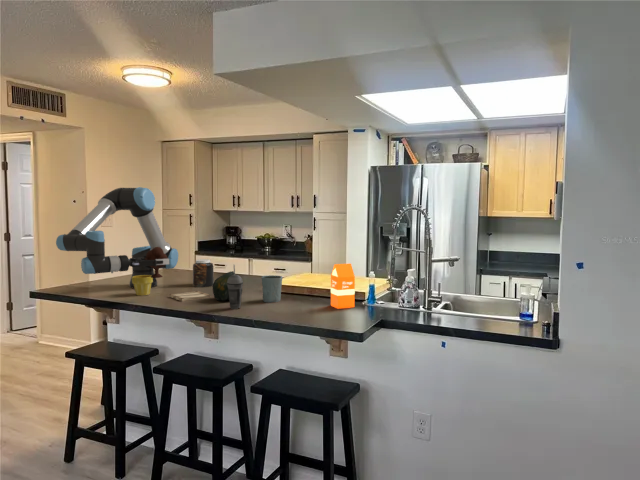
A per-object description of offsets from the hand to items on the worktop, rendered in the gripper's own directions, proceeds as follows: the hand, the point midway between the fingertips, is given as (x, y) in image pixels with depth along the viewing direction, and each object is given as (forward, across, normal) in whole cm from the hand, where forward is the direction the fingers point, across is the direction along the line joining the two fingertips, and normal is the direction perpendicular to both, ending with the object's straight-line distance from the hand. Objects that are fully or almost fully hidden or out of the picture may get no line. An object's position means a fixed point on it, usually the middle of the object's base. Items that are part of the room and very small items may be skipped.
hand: (164, 260), depth 240 cm
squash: (+24, +19, -20) cm, 37 cm away
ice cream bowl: (-4, 0, -8) cm, 9 cm away
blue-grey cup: (+41, +35, -20) cm, 57 cm away
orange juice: (+59, +67, -20) cm, 91 cm away
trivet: (+12, +2, -20) cm, 23 cm away
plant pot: (-4, -21, -20) cm, 29 cm away
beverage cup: (+18, +39, -20) cm, 47 cm away
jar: (+34, -28, -20) cm, 48 cm away
